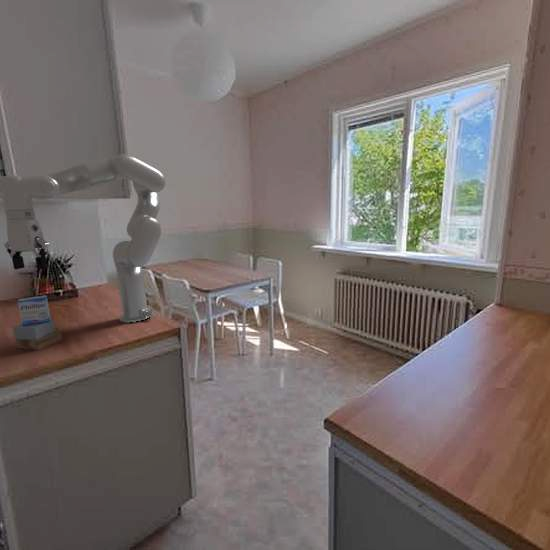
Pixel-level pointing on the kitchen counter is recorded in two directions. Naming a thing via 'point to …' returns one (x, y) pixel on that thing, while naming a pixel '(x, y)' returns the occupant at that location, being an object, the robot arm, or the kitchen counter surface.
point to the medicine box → (34, 310)
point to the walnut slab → (40, 341)
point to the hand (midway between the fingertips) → (30, 268)
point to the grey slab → (34, 330)
